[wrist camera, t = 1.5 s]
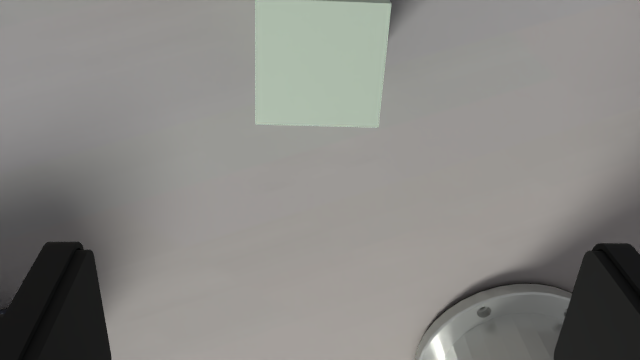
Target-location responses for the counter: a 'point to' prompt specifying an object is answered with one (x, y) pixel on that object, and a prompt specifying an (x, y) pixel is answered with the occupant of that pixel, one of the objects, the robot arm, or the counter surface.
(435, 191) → the counter surface
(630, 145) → the counter surface
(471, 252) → the counter surface
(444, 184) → the counter surface
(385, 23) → the sage block
